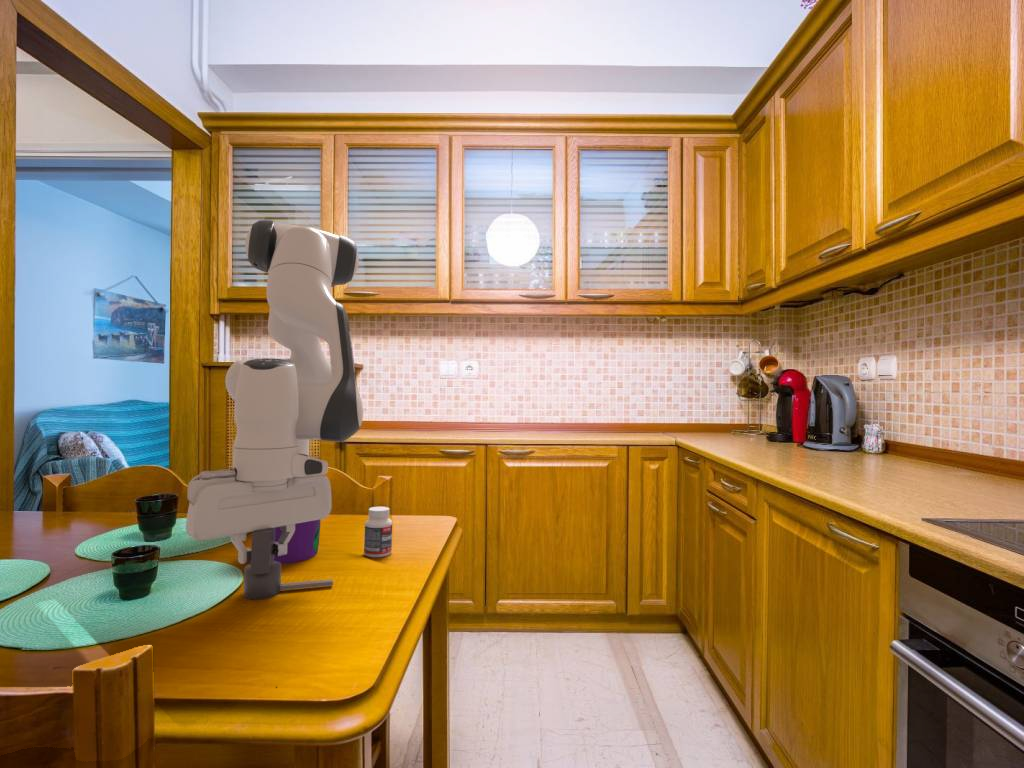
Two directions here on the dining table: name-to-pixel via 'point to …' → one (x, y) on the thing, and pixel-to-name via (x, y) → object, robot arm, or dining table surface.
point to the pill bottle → (378, 533)
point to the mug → (300, 542)
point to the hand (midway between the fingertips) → (263, 558)
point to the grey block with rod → (268, 570)
